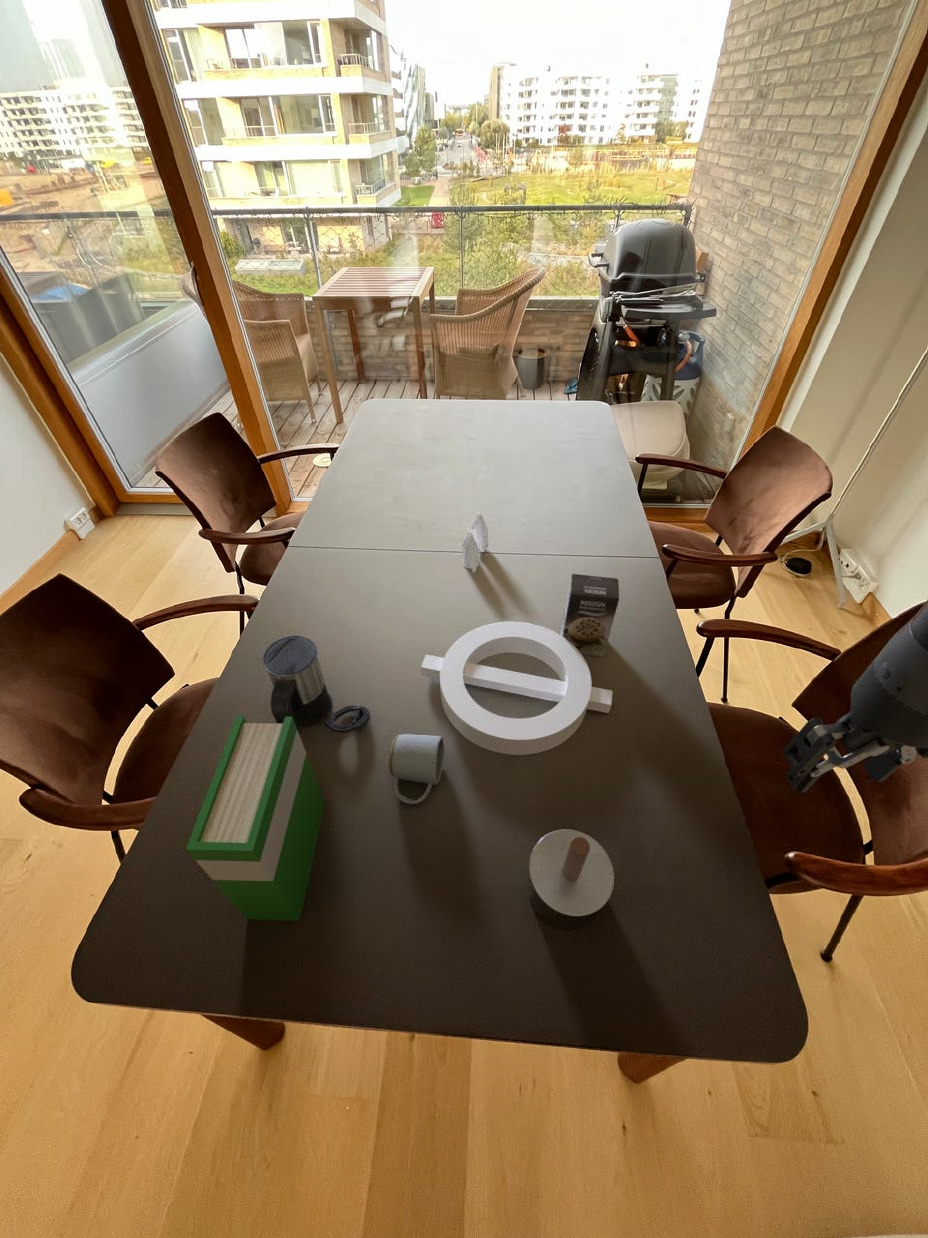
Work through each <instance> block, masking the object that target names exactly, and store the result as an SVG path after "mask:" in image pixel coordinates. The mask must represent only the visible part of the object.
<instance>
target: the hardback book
mask: <svg viewBox="0 0 928 1238" xmlns="http://www.w3.org/2000/svg"><path fill="white" fill-rule="evenodd" d="M325 805H326V801H325V798H324V795H323V793H322V790H321V788H320V784H319V783H318V780H317V778H316V774H315V772H314V770H313V767H312V764H311V761H310V759H309V757H308V754H307V751H306V749H305V746H304V744H303V741H302V739H301V735H300V736H299V733H298V730H297V728H296V725H295V723H294V720H293V718H292V717H285V719H284V722H283V724H277V723H273V722H272V723H267V722H266V723H265V722H247V720H246V718H245V716H244V715H236V716H235V719H234V721H233V724H232V726H231V729H230V732H229V734H228V737H227V740H226V742H225V745H224V748H223V750H222V753H221V755H220V759H219V760H218V763H217V766H216V768H215V772H214V774H213V777H212V779H211V782H210V785H209V787H208V789H207V793H206V795H205V798H204V801H203V803H202V806H201V809H200V810H199V813H198V815H197V819H196V821H195V824H194V826H193V830H192V832H191V835H190V837H189V839H188V841H187V845H186V847H185V850H186V852H187V853H188V854H189V855H190V856H191V857H192V858H193V860H194V861H195V862H196V863H197V864H198V865H199V867H200V868H202V870H203V871H204V872H205V874H207V876H208V877H210V879H211V880H212V881H213V882H214V883H215V885H216V886H217V887H218V888H219V889H220V890H221V891H222V892H223V893H224V895H226V897H227V898H228V899H229V900H230V901H231V903H232V904H233V905H234V906H235V908H237V910H239V912H240V913H241V914H242V915H243V917H245V918H246V920H256V921H257V920H259V921H296V922H297V921H298V922H299V921H301V917H302V913H303V908H304V902H305V899H306V894H307V890H308V889H307V888H308V883H309V881H310V874H311V870H312V866H313V862H314V856H315V852H316V847H317V841H318V837H319V833H320V828H321V823H322V818H323V815H324V814H323V813H324V809H325Z"/></svg>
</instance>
